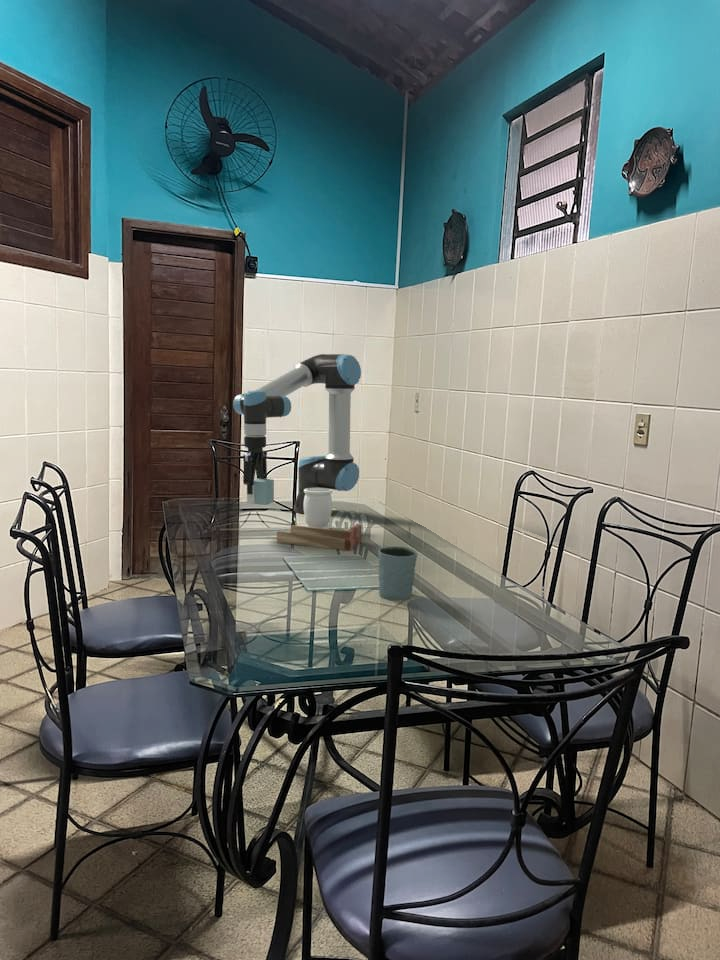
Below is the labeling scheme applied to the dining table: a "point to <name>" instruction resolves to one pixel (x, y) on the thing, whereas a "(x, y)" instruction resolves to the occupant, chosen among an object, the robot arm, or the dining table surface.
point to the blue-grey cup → (396, 572)
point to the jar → (317, 507)
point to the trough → (321, 537)
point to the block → (264, 491)
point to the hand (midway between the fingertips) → (255, 501)
